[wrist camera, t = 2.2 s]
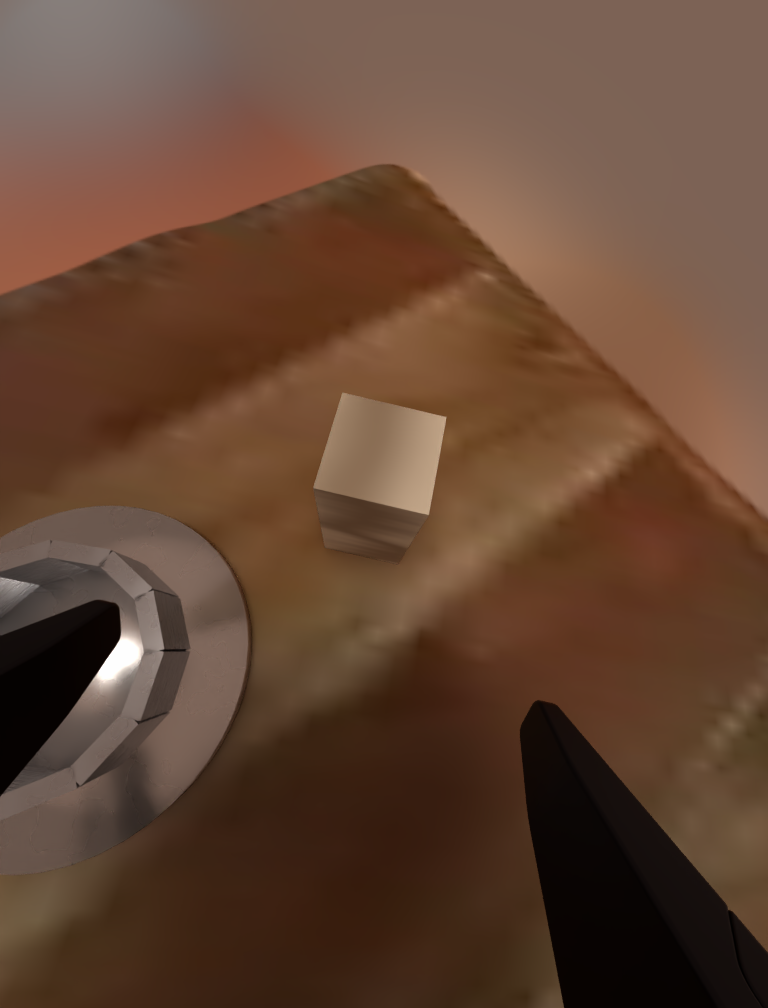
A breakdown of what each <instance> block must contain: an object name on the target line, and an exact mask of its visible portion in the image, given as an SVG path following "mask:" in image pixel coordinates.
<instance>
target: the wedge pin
mask: <svg viewBox="0 0 768 1008" xmlns="http://www.w3.org/2000/svg"><path fill="white" fill-rule="evenodd" d="M445 422H446V417H443V416H439V415H434V414H430V413H426V412H422V411H418V410H413V409H409V408H405V407H401V406H397V405H392V404H388V403H384V402H380V401H376V400H371V399H367V398H363V397H359V396H355V395H350V394H346V393H342V396H341V400H340V403H339V406H338V409H337V413H336V416H335V419H334V422H333V426H332V429H331V432H330V435H329V439H328V442H327V445H326V448H325V452H324V455H323V458H322V461H321V465H320V468H319V471H318V474H317V478H316V481H315V484H314V487H313V489H314V494H315V499H316V505H317V510H318V515H319V520H320V525H321V530H322V535H323V540H324V546H325V548H329V549H333V550H337V551H342V552H346V553H350V554H355V555H359V556H363V557H367V558H372V559H376V560H380V561H385V562H389V563H393V564H398V563H399V562H400V560H401V558H402V557H403V555H404V554H405V552H406V550H407V549H408V547H409V546H410V544H411V543H412V541H413V539H414V538H415V536H416V535H417V533H418V531H419V530H420V528H421V527H422V525H423V523H424V522H425V520H426V519H427V517H428V516H429V511H430V505H431V500H432V494H433V489H434V483H435V478H436V472H437V467H438V461H439V455H440V450H441V444H442V439H443V433H444V428H445Z"/></svg>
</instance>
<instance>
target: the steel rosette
mask: <svg viewBox="0 0 768 1008" xmlns="http://www.w3.org/2000/svg"><path fill="white" fill-rule="evenodd" d="M97 599H99V600H105V601H109V602H114V603H116V604H117V605H118V606H119V608H120V620H121V637H120V640H119V642H118V644H117V646H116V647H115V649H114V650H113V651H112V653H111V654H110V656H109V657H108V659H107V660H106V662H105V663H104V664H103V666H102V667H101V669H100V670H99V672H98V673H97V675H96V676H95V677H94V679H93V680H92V682H91V683H90V685H89V686H88V688H87V689H86V691H85V692H84V693H83V695H82V696H81V698H80V699H79V701H78V702H77V703H76V705H75V706H74V708H73V709H72V710H71V712H70V713H69V714H68V716H67V717H66V718H65V719H64V721H63V722H62V723H61V724H60V726H59V727H58V728H57V729H56V730H55V732H54V733H53V734H52V735H51V736H50V738H49V739H48V740H47V741H46V742H45V744H44V745H43V746H42V747H41V748H40V750H39V751H38V752H37V753H36V755H35V756H34V757H33V758H32V759H31V761H30V762H29V763H28V764H27V765H26V767H25V768H24V769H23V770H22V771H21V773H20V774H19V775H18V776H17V777H16V779H15V780H14V781H13V782H12V783H11V785H10V786H9V787H8V788H7V789H6V791H5V792H4V793H3V794H2V795H1V797H0V874H4V875H20V874H31V873H42V872H46V871H50V870H54V869H58V868H62V867H67V866H70V865H73V864H76V863H78V862H81V861H83V860H86V859H89V858H91V857H94V856H97V855H99V854H101V853H102V852H104V851H106V850H108V849H110V848H112V847H114V846H116V845H118V844H119V843H121V842H123V841H125V840H126V839H128V838H129V837H131V836H132V835H134V834H135V833H136V832H138V831H139V830H141V829H142V828H144V827H145V826H147V825H148V824H149V823H151V822H152V821H153V820H154V819H155V818H156V817H158V816H159V815H160V814H161V813H162V812H163V811H164V810H166V809H167V808H168V807H169V806H170V805H171V804H173V803H174V802H175V801H176V800H177V799H178V798H179V797H180V796H181V795H182V794H183V793H184V792H185V791H186V790H187V789H188V788H189V787H190V786H191V784H192V783H193V782H194V781H195V780H196V779H197V778H198V777H199V776H200V774H201V773H202V772H203V770H204V769H205V768H206V766H207V765H208V764H209V762H210V761H211V760H212V758H213V757H214V756H215V754H216V753H217V751H218V749H219V748H220V746H221V744H222V742H223V741H224V739H225V737H226V736H227V734H228V732H229V730H230V728H231V726H232V723H233V721H234V719H235V717H236V715H237V712H238V710H239V707H240V704H241V701H242V698H243V695H244V692H245V689H246V685H247V680H248V675H249V670H250V663H251V650H252V635H251V622H250V616H249V611H248V606H247V602H246V599H245V596H244V593H243V590H242V587H241V585H240V583H239V581H238V579H237V577H236V575H235V573H234V571H233V570H232V568H231V567H230V566H229V564H228V563H227V561H226V560H225V559H224V557H223V556H222V555H221V554H220V553H219V552H218V551H217V550H216V549H215V548H214V547H213V546H212V545H211V544H210V543H209V542H208V541H206V540H205V539H204V538H203V537H201V536H200V535H199V534H197V533H196V532H195V531H194V530H192V529H191V528H189V527H187V526H186V525H184V524H182V523H180V522H179V521H177V520H175V519H172V518H170V517H167V516H165V515H162V514H160V513H157V512H153V511H149V510H145V509H141V508H133V507H124V506H96V507H87V508H79V509H74V510H70V511H65V512H61V513H57V514H54V515H51V516H48V517H45V518H42V519H39V520H36V521H33V522H31V523H29V524H27V525H24V526H22V527H20V528H18V529H15V530H14V531H12V532H10V533H8V534H6V535H5V536H3V537H1V538H0V636H1V635H3V634H6V633H9V632H11V631H14V630H17V629H19V628H22V627H24V626H27V625H30V624H32V623H35V622H38V621H40V620H43V619H45V618H48V617H51V616H53V615H56V614H59V613H61V612H64V611H66V610H69V609H72V608H74V607H77V606H80V605H82V604H85V603H87V602H90V601H93V600H97Z"/></svg>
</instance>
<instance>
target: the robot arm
mask: <svg viewBox="0 0 768 1008" xmlns="http://www.w3.org/2000/svg"><path fill="white" fill-rule="evenodd" d="M120 637H121V620H120V608H119V606H118V605H117V604H116V603H114V602H109V601H105V600H99V599H97V600H93V601H90V602H87V603H85V604H82V605H80V606H77V607H74V608H72V609H69V610H66V611H64V612H61V613H59V614H56V615H53V616H51V617H48V618H45V619H43V620H40V621H38V622H35V623H32V624H30V625H27V626H24V627H22V628H19V629H17V630H14V631H11V632H9V633H6V634H3V635H1V636H0V797H1V795H2V794H3V793H4V792H5V791H6V789H7V788H8V787H9V786H10V785H11V783H12V782H13V781H14V780H15V779H16V777H17V776H18V775H19V774H20V773H21V771H22V770H23V769H24V768H25V767H26V765H27V764H28V763H29V762H30V761H31V759H32V758H33V757H34V756H35V755H36V753H37V752H38V751H39V750H40V748H41V747H42V746H43V745H44V744H45V742H46V741H47V740H48V739H49V738H50V736H51V735H52V734H53V733H54V732H55V730H56V729H57V728H58V727H59V726H60V724H61V723H62V722H63V721H64V719H65V718H66V717H67V716H68V714H69V713H70V712H71V710H72V709H73V708H74V706H75V705H76V703H77V702H78V701H79V699H80V698H81V696H82V695H83V693H84V692H85V691H86V689H87V688H88V686H89V685H90V683H91V682H92V680H93V679H94V677H95V676H96V675H97V673H98V672H99V670H100V669H101V667H102V666H103V664H104V663H105V662H106V660H107V659H108V657H109V656H110V654H111V653H112V651H113V650H114V649H115V647H116V646H117V644H118V642H119V640H120ZM520 742H521V752H522V762H523V773H524V783H525V793H526V804H527V812H528V819H529V825H530V831H531V837H532V842H533V847H534V852H535V858H536V863H537V868H538V873H539V879H540V884H541V889H542V894H543V900H544V905H545V910H546V915H547V921H548V926H549V931H550V936H551V941H552V947H553V952H554V957H555V962H556V968H557V973H558V978H559V983H560V989H561V994H562V999H563V1004H564V1008H768V952H767V951H766V950H765V949H764V948H763V947H762V945H761V944H760V943H759V942H758V941H757V940H756V938H755V937H754V936H753V935H752V934H751V933H750V931H749V930H748V929H747V928H746V927H745V926H744V924H743V923H742V922H741V921H740V920H739V918H738V917H737V916H736V915H735V914H734V913H733V912H732V911H731V910H728V907H727V905H726V903H725V902H724V901H723V900H722V899H721V897H720V896H719V895H718V894H717V893H716V892H715V890H714V889H713V888H712V887H711V886H710V885H709V883H708V882H707V881H706V880H705V879H704V877H703V876H702V875H701V874H700V873H699V872H698V870H697V869H696V868H695V867H694V866H693V865H692V863H691V862H690V861H689V860H688V859H687V857H686V856H685V855H684V854H683V853H682V852H681V850H680V849H679V848H678V847H677V846H676V845H675V843H674V842H673V841H672V840H671V839H670V837H669V836H668V835H667V834H666V833H665V832H664V830H663V829H662V828H661V827H660V826H659V825H658V823H657V822H656V821H655V820H654V819H653V817H652V816H651V815H650V814H649V813H648V812H647V810H646V809H645V808H644V807H643V806H642V805H641V803H640V802H639V801H638V800H637V799H636V797H635V796H634V795H633V794H632V793H631V792H630V790H629V789H628V788H627V787H626V786H625V785H624V783H623V782H622V781H621V780H620V779H619V777H618V776H617V775H616V774H615V773H614V772H613V770H612V769H611V768H610V767H609V766H608V765H607V763H606V762H605V761H604V760H603V759H602V757H601V756H600V755H599V754H598V753H597V752H596V750H595V749H594V748H593V747H592V746H591V745H590V743H589V742H588V741H587V740H586V739H585V738H584V736H583V735H582V734H581V733H580V732H579V730H578V729H577V728H576V727H575V726H574V725H573V723H572V722H571V721H570V720H569V719H568V718H567V716H566V715H565V714H564V713H563V712H562V710H561V709H560V708H559V707H558V706H557V705H555V704H553V703H549V702H545V701H540V700H537V701H535V702H534V703H533V704H532V706H531V708H530V710H529V712H528V713H527V715H526V717H525V719H524V721H523V723H522V725H521V729H520Z"/></svg>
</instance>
